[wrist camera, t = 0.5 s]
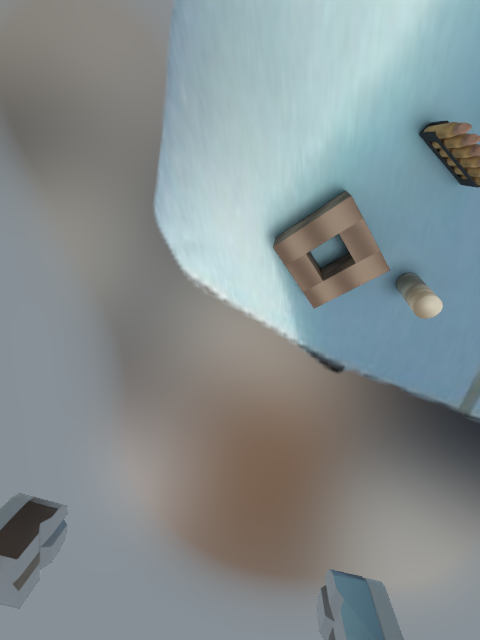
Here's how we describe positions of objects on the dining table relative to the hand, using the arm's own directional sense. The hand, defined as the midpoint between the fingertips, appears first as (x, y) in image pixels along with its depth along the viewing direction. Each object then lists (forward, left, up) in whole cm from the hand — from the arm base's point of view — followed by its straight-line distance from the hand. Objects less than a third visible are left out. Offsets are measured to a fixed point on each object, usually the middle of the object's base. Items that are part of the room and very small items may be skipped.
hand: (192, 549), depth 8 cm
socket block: (-4, +10, -50) cm, 51 cm away
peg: (-13, +24, -50) cm, 57 cm away
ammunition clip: (-25, +7, -50) cm, 57 cm away
